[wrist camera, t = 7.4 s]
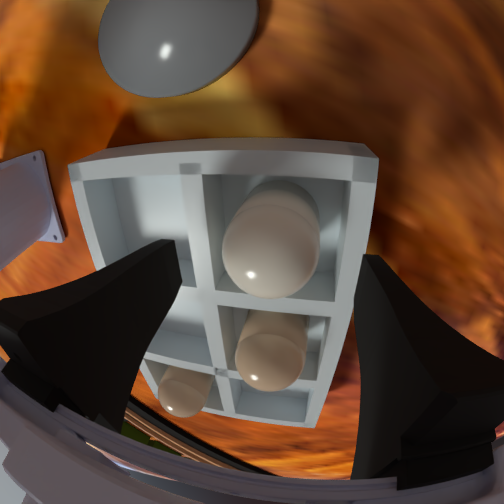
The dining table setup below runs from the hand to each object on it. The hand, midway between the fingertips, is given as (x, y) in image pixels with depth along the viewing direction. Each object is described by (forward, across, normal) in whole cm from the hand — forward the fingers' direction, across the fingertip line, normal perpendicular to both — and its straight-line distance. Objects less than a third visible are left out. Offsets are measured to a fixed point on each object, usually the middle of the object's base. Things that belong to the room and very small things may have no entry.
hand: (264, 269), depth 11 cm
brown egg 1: (+5, +7, +14) cm, 16 cm away
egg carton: (+6, +3, +7) cm, 10 cm away
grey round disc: (+6, +5, -11) cm, 13 cm away
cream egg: (+4, 0, 0) cm, 5 cm away
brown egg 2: (+4, 0, +7) cm, 8 cm away
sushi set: (+7, +26, +56) cm, 62 cm away
